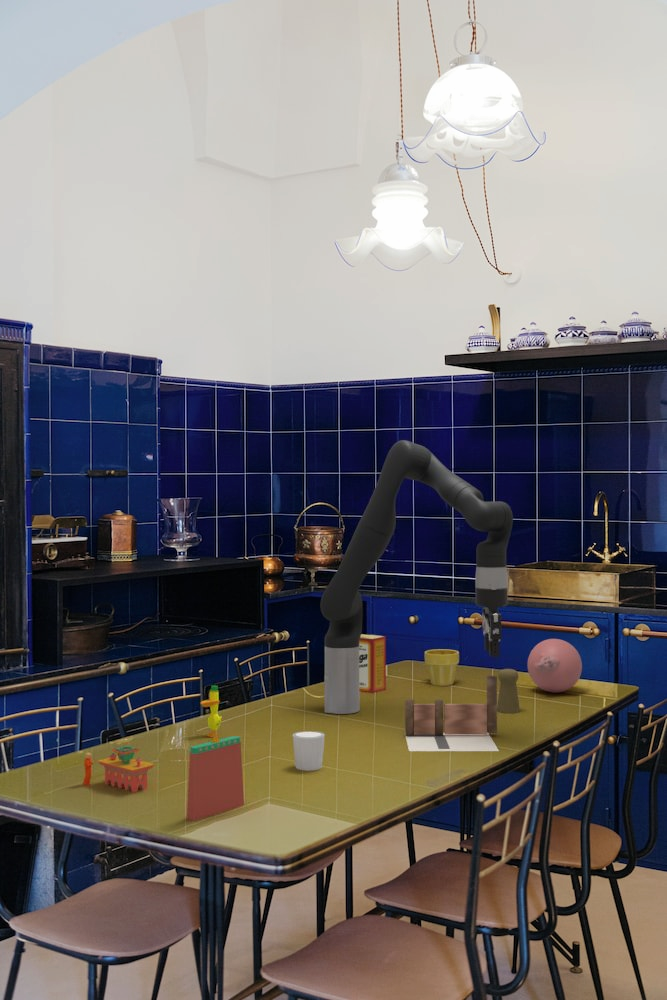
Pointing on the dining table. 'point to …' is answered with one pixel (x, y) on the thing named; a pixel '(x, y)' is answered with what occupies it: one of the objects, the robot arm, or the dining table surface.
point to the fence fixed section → (423, 718)
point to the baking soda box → (372, 663)
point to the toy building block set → (209, 775)
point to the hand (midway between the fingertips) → (492, 654)
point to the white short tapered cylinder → (308, 750)
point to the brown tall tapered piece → (508, 692)
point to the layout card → (451, 742)
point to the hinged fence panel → (473, 714)
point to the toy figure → (213, 710)
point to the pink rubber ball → (554, 665)
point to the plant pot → (442, 666)
